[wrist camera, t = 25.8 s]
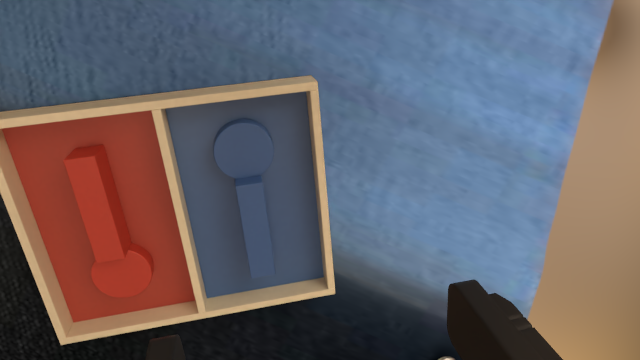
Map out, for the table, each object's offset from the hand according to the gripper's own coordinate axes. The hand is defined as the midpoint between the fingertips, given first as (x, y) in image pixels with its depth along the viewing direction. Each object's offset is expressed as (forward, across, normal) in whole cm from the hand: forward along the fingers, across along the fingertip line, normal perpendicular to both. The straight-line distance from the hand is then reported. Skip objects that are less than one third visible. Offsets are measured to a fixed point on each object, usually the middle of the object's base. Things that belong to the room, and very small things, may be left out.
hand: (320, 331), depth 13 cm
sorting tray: (+23, +7, +6) cm, 25 cm away
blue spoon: (+23, +2, +6) cm, 24 cm away
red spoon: (+22, +12, +6) cm, 26 cm away
